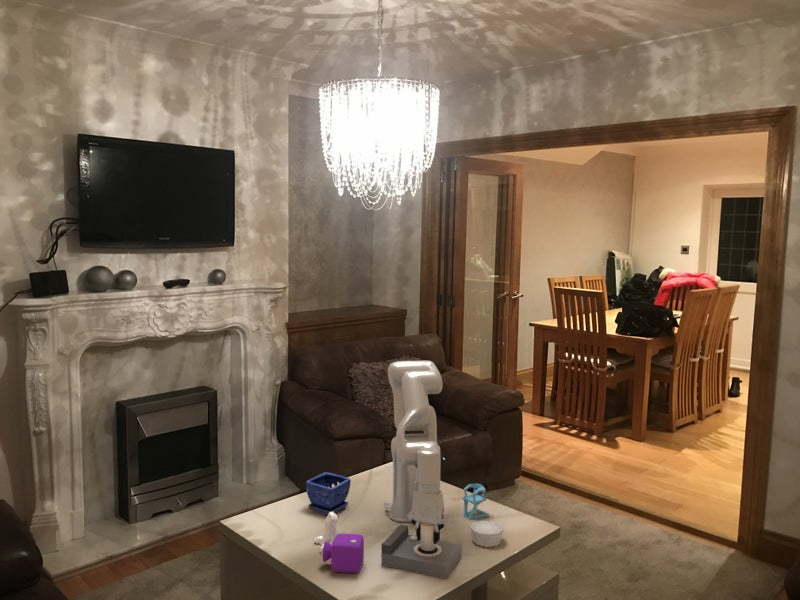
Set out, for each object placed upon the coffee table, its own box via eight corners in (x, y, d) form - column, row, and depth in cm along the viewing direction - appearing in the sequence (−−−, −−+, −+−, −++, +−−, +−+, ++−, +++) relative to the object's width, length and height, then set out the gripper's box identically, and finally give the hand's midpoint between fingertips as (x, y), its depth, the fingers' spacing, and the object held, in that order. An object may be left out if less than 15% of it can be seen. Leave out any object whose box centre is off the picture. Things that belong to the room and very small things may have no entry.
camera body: (381, 564, 211) (381, 544, 210) (400, 543, 226) (400, 524, 225) (445, 578, 203) (446, 557, 202) (461, 556, 217) (461, 535, 217)
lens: (417, 549, 211) (418, 521, 211) (423, 542, 216) (423, 515, 215) (432, 552, 209) (432, 523, 209) (437, 545, 214) (438, 517, 213)
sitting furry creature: (313, 542, 226) (312, 508, 225) (336, 537, 230) (336, 505, 229) (320, 554, 218) (320, 519, 217) (345, 549, 221) (345, 515, 220)
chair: (459, 515, 250) (459, 484, 249) (474, 509, 255) (475, 479, 254) (473, 522, 244) (473, 491, 243) (489, 516, 249) (489, 485, 248)
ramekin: (465, 537, 231) (465, 522, 231) (492, 532, 235) (493, 518, 235) (480, 551, 221) (480, 536, 221) (508, 545, 225) (509, 531, 225)
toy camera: (321, 559, 214) (321, 530, 213) (363, 558, 215) (363, 528, 215) (320, 576, 204) (320, 545, 203) (364, 574, 205) (364, 544, 204)
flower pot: (352, 507, 256) (352, 477, 255) (331, 519, 245) (331, 488, 244) (325, 499, 264) (325, 471, 262) (304, 511, 252) (304, 481, 251)
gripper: (399, 486, 211) (399, 540, 212) (450, 494, 204) (449, 550, 206) (408, 479, 218) (408, 531, 219) (457, 486, 211) (456, 540, 213)
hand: (428, 540), depth 212 cm, fingers closed on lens, 5 cm apart
